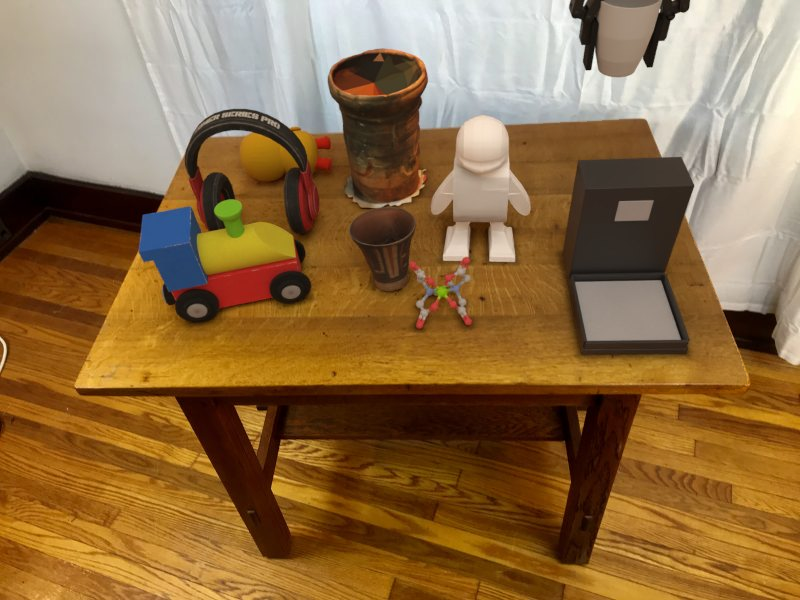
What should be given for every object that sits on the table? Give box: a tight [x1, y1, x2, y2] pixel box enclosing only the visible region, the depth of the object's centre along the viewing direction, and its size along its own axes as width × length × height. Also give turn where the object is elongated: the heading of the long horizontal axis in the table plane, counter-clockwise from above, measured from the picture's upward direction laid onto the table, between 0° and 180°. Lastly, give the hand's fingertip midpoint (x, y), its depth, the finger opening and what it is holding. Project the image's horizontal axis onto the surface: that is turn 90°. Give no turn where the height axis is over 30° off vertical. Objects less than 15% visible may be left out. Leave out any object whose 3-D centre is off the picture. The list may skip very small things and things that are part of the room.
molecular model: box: [408, 257, 473, 330], centre depth 80 cm, size 7×8×8 cm
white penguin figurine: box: [430, 114, 532, 263], centre depth 84 cm, size 14×9×20 cm, turn 84°
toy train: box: [138, 199, 312, 323], centre depth 82 cm, size 9×20×15 cm, turn 102°
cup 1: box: [348, 206, 417, 292], centre depth 84 cm, size 9×9×10 cm
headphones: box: [184, 108, 320, 235], centre depth 89 cm, size 18×10×20 cm, turn 90°
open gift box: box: [561, 156, 695, 356], centre depth 76 cm, size 18×12×16 cm
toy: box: [239, 126, 333, 183], centre depth 103 cm, size 9×9×15 cm
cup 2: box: [594, 0, 662, 78], centre depth 84 cm, size 8×8×10 cm
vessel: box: [327, 48, 429, 209], centre depth 95 cm, size 14×14×20 cm
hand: (617, 64), depth 87 cm, fingers closed on cup 2, 8 cm apart
